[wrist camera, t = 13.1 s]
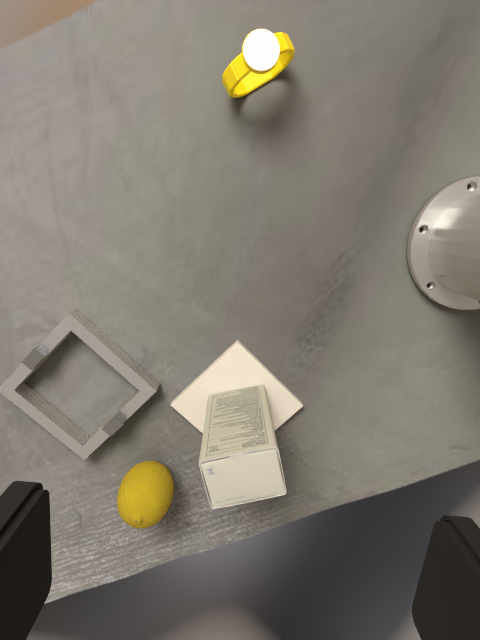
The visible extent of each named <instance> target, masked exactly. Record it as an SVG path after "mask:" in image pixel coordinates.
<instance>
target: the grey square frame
mask: <svg viewBox="0 0 480 640" xmlns="http://www.w3.org/2000/svg"><path fill="white" fill-rule="evenodd" d="M72 332H73V333H74V334H76V335H77V336H78V337H79V338H80V339H81V340H82V341H83V342H85V343H86V344H87V345H88V346H89V347H90V348H91V349H93V350H94V351H95V352H96V353H97V354H98V355H99V356H100V357H102V358H103V359H104V360H105V361H106V362H107V363H108V364H110V365H111V366H112V367H113V368H114V369H115V370H116V371H118V372H119V373H120V374H121V375H122V376H123V377H124V378H125V379H127V380H128V381H129V382H130V383H131V384H132V385H133V386H135V387H136V388H137V389H138V390H137V391H136V392H135V393H134V394H133V395H132V396H131V397H130V398H129V399H128V400H126V401H125V402H124V403H123V404H122V405H121V406H120V407H119V408H118V409H117V410H116V411H115V412H114V413H113V414H112V415H111V416H110V417H109V418H108V419H107V420H106V421H105V422H104V423H103V424H102V425H101V426H100V427H99V428H98V429H96V430H95V431H94V432H93V433H92V434H91V435H90V436H89V435H88V434H87V433H86V432H85V431H83V430H82V429H81V428H80V427H78V426H77V425H76V424H75V423H74V422H72V421H71V420H70V419H69V418H68V417H66V416H65V415H64V414H63V413H62V412H60V411H59V410H58V409H57V408H55V407H54V406H53V405H52V404H51V403H49V402H48V401H47V400H46V399H45V398H43V397H42V396H41V395H40V394H39V393H37V392H36V391H35V390H34V389H32V388H31V387H30V386H29V385H28V384H26V383H25V381H26V380H27V379H28V378H29V377H30V376H31V375H32V374H33V373H34V372H35V371H36V370H37V369H38V368H39V367H40V365H41V364H42V363H43V362H44V361H45V360H46V359H47V358H48V357H49V356H50V355H51V354H52V353H53V352H54V351H55V350H56V349H57V348H58V347H59V346H60V344H61V343H62V342H63V341H64V340H65V339H66V338H67V337H68V336H69V335H70V334H71V333H72ZM159 385H160V382H159V381H157V380H156V379H155V378H154V377H153V376H152V375H151V374H150V373H148V372H147V371H146V370H145V369H144V368H143V367H142V366H141V365H140V364H138V363H137V362H136V361H135V360H134V359H133V358H132V357H131V356H130V355H128V354H127V353H126V352H125V351H124V350H123V349H122V348H121V347H120V346H118V345H117V344H116V343H115V342H114V341H113V340H112V339H111V338H109V337H108V336H107V335H106V334H105V333H104V332H103V331H102V330H101V329H99V328H98V327H97V326H96V325H95V324H94V323H93V322H92V321H91V320H89V319H88V318H87V317H86V316H85V315H84V314H83V313H82V312H81V311H79V310H78V309H76V310H74V311H73V312H71V313H69V314H68V315H67V316H66V317H65V318H64V319H63V320H62V321H61V323H60V324H59V325H58V326H57V327H56V328H55V329H54V330H53V331H52V332H51V333H50V334H49V335H48V336H47V337H46V339H45V340H44V341H43V342H42V343H41V344H40V345H39V346H38V347H36V348H34V349H33V351H32V352H31V353H30V354H29V355H28V356H27V357H26V358H25V359H24V360H23V361H22V364H21V365H20V366H19V367H18V368H17V369H16V370H15V372H14V373H13V374H12V375H11V376H10V377H9V378H8V379H7V380H6V381H5V382H4V383H3V384H2V385H1V386H0V393H2V394H3V395H4V396H5V397H6V398H8V399H9V400H10V401H11V402H13V403H14V404H15V405H16V406H18V407H19V408H20V409H21V410H23V411H24V412H25V413H26V414H28V415H29V416H30V417H31V418H32V419H34V420H35V421H36V422H37V423H39V424H40V425H41V426H42V427H44V428H45V429H46V430H47V431H49V432H50V433H51V434H52V435H54V436H55V437H56V438H57V439H59V440H60V441H61V442H62V443H63V444H65V445H66V446H67V447H68V448H70V449H71V450H72V451H73V452H75V453H76V454H77V455H78V456H80V457H81V458H82V459H83V460H85V459H86V458H87V457H88V456H89V455H90V454H91V453H92V452H93V451H94V450H95V449H97V448H98V447H99V446H100V445H101V444H102V443H103V442H104V441H105V440H106V439H107V438H108V437H109V436H110V437H111V436H112V435H113V434H114V433H115V432H116V431H117V430H118V429H119V428H121V427H122V426H123V425H124V423H125V421H126V420H127V419H128V418H129V417H130V416H131V415H132V414H133V413H134V412H135V411H136V410H137V409H139V408H140V407H141V406H142V405H143V404H144V403H145V402H146V401H147V400H148V399H149V398H150V397H151V396H152V395H153V394H154V393H155V392H156V391H157V389H158V387H159Z"/></svg>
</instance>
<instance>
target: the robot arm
mask: <svg viewBox="0 0 480 640" xmlns="http://www.w3.org/2000/svg"><path fill="white" fill-rule="evenodd" d="M467 185H468V186H469V187H468V189H467ZM420 227H421V228H422V230H421V232H419V228H420ZM407 260H408V265H409V269H410V273H411V275H412V277H413V279H414V281H415V283H416V285H417V286H418V287H419V289H420V290H421V291H422V292H423V293H424V294H425V295H426V296H428V297H429V298H430V299H431V300H433V301H435V302H437V303H439V304H441V305H444V306H446V307H449V308H453V309H458V310H477V309H480V176H475V177H470V178H466V179H462V180H459V181H457V182H454V183H452V184H450V185H448V186H446V187H445V188H443V189H442V190H440V191H439V192H437V193H436V194H435V195H434V196H433V197H432V198H431V199H430V200H429V201H428V202H427V203H426V204H425V206H424V207H423V208H422V209H421V211H420V212H419V214H418V216H417V217H416V219H415V221H414V223H413V225H412V228H411V231H410V234H409V239H408V246H407ZM428 283H429V286H428V287H427V284H428ZM51 582H52V568H51V534H50V501H49V492H48V490H43V486H42V484H41V483H36V482H24V481H15V482H13V483H12V484H11V485H10V486H9V487H8V488H7V489H6V490H5V491H4V493H3V494H2V495H1V496H0V640H26V638H27V636H28V634H29V632H30V630H31V628H32V626H33V624H34V622H35V621H36V618H37V617H38V615H39V613H40V611H41V609H42V607H43V605H44V603H45V601H46V599H47V596H48V594H49V591H50V587H51ZM412 615H413V620H414V623H415V626H416V628H417V630H418V633H419V635H420V637H421V640H480V529H479V527H478V526H477V525H476V523H475V522H474V521H473V520H472V519H471V518H468V517H460V516H447V515H446V516H443V517H442V518H441V520H440V521H439V522H438V521H437V522H436V523H435V524H434V527H433V530H432V535H431V538H430V542H429V546H428V549H427V553H426V556H425V560H424V564H423V567H422V571H421V575H420V579H419V583H418V586H417V590H416V593H415V597H414V601H413V605H412Z"/></svg>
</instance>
